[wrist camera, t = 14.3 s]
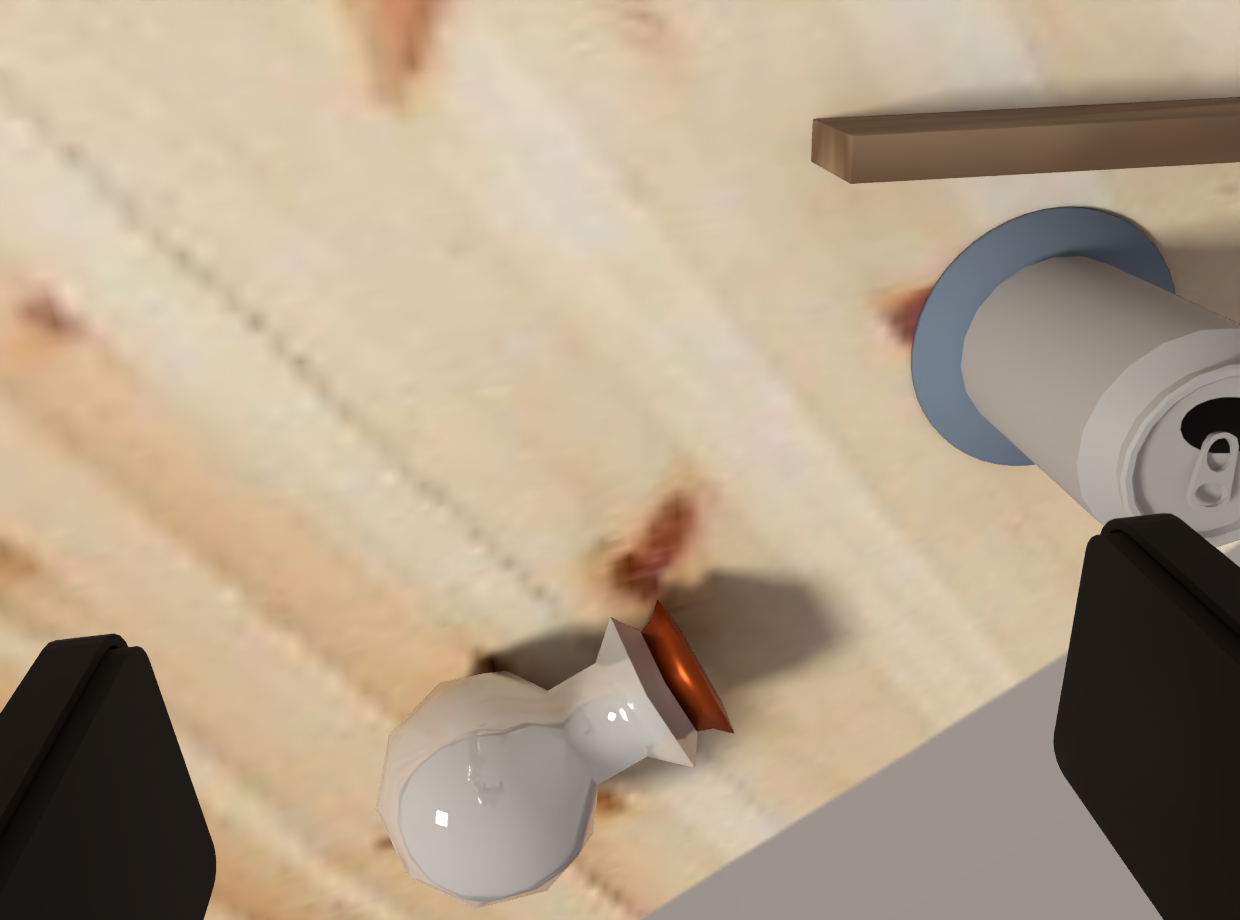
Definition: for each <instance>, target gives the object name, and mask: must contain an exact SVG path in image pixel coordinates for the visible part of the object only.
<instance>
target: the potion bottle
mask: <svg viewBox="0 0 1240 920" xmlns="http://www.w3.org/2000/svg"><path fill="white" fill-rule="evenodd" d="M712 728H714V729H718V730H722V731H726V732H730V733H734V731H733V729H732V726H731V724H730V721H729V719H728V716H727V714H726V711H725V709H724V706H723V704H722V701H721V700H720V698H719V696H718V694H717V693H716V691H715V689H714V687H713V686H712V684H711V682H710V680H709V679H708V677H707V675H706V673H705V672H704V670H703V668H702V666H701V665H700V663H699V661H698V659H697V658H696V656H695V654H694V653H693V651H692V649H691V647H690V646H689V644H688V642H687V640H686V639H685V637H684V635H683V633H682V632H681V630H680V628H679V626H678V625H677V623H676V622H675V621H674V620H673V618H672V617H671V616H670V615H669V613H668V612H667V611H666V609H665V608H664V607H663V606H662V604H661V603H660V602H659V601H658V600H657V604H656V607H655V610H654V614H653V617H652V620H651V621H650V622H649V624H648V625H647V626H646V627H645V628H644V629H643V630H642V632H640V631H638V630H636V629H634V628H632V627H630V626H628V625H626V624H624V623H622V622H620V621H618V620H616V619H614V618H612V617H611V618H610V621H609V624H608V627H607V630H606V633H605V636H604V639H603V642H602V645H601V648H600V651H599V654H598V657H597V660H596V663H594V664H593V665H591V666H589V667H588V668H586V669H584V670H583V671H581V672H579V673H577V674H576V675H574V676H572V677H571V678H569V679H567V680H565V681H564V682H562V683H560V684H559V685H557V686H555V687H553V688H552V689H550V690H548V691H547V690H545V689H543V688H541V687H539V686H537V685H535V684H533V683H531V682H529V681H527V680H525V679H523V678H521V677H519V676H517V675H515V674H513V673H511V672H509V671H502V672H493V673H483V674H478V675H474V676H469V677H464V678H459V679H455V680H450V681H445V682H440V683H439V684H438V685H437V686H436V687H435V688H434V689H433V690H432V691H431V692H430V693H429V694H428V695H427V696H426V697H425V698H424V699H423V700H422V701H421V702H420V703H419V704H418V705H417V706H416V707H415V708H414V710H413V711H412V712H411V713H410V714H409V715H408V716H407V717H406V718H405V719H404V720H403V721H402V722H401V723H400V724H399V725H398V726H397V727H396V728H395V729H394V730H393V731H392V732H391V733H390V734H389V738H388V743H387V749H386V755H385V760H384V766H383V772H382V777H381V783H380V788H379V794H378V800H377V805H376V810H377V812H378V814H379V816H380V819H381V821H382V823H383V825H384V827H385V829H386V831H387V833H388V835H389V837H390V839H391V841H392V843H393V845H394V848H395V850H396V852H397V854H398V856H399V858H400V860H401V862H402V864H403V866H404V868H405V870H406V872H407V874H408V877H409V878H411V879H414V880H416V881H418V882H420V883H422V884H424V885H426V886H428V887H430V888H433V889H435V890H437V891H439V892H441V893H443V894H445V895H447V896H449V897H451V898H454V899H456V900H458V901H460V902H462V903H464V904H466V905H468V906H470V907H473V908H475V909H477V908H481V907H485V906H489V905H493V904H497V903H501V902H505V901H509V900H513V899H517V898H521V897H524V896H528V895H532V894H536V893H540V892H544V891H547V890H548V889H549V888H550V887H551V885H552V884H553V883H554V882H555V881H556V880H557V879H558V878H559V876H560V875H561V874H562V873H563V872H564V871H565V870H566V869H567V867H568V866H569V865H570V864H571V863H572V862H573V861H574V860H575V858H576V857H577V856H578V855H579V853H580V852H581V851H582V849H583V848H584V846H585V845H586V843H587V842H588V840H589V839H590V837H591V836H592V835H593V831H594V821H595V812H596V802H597V793H598V785H599V784H601V783H602V782H604V781H606V780H608V779H609V778H611V777H613V776H615V775H616V774H618V773H620V772H621V771H623V770H625V769H627V768H628V767H630V766H632V765H633V764H635V763H637V762H639V761H640V760H642V759H644V758H645V757H651V758H655V759H660V760H664V761H668V762H672V763H677V764H681V765H685V766H689V767H694V768H695V761H696V747H697V734H698V732H697V731H701V730H706V729H712Z"/></svg>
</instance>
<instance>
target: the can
mask: <svg viewBox="0 0 1240 920" xmlns="http://www.w3.org/2000/svg"><path fill="white" fill-rule="evenodd" d="M961 370H962V375H963V380H964V384H965V389H966V393H967V394H968V396H969V397H970V399H971V400H972V402H973V403H974V405H975V407H976V408H977V410H978V411H979V413H980V414H981V415H983V416H984V417H985V418H986V419H987V420H988V421H989V422H990V423H991V424H992V425H993V426H995V427H996V428H997V429H998V430H999V431H1000V432H1001V433H1002V434H1003V435H1004V436H1005V437H1007V438H1008V439H1009V440H1010V441H1011V442H1012V443H1013V444H1014V445H1015V446H1016V447H1017V448H1019V449H1020V450H1021V451H1022V452H1023V453H1024V454H1025V455H1026V456H1027V457H1028V458H1029V459H1031V460H1032V461H1033V462H1034V463H1035V464H1036V465H1037V466H1038V467H1039V468H1040V469H1041V470H1042V471H1044V472H1045V473H1046V474H1047V475H1048V476H1049V477H1050V478H1051V479H1052V480H1053V481H1054V482H1056V483H1057V484H1058V485H1059V486H1060V487H1061V488H1062V489H1063V490H1064V491H1065V492H1066V493H1068V494H1069V495H1070V496H1071V497H1072V498H1073V499H1074V500H1075V501H1076V502H1077V503H1078V504H1080V505H1081V506H1082V507H1083V508H1084V509H1085V510H1086V511H1087V512H1088V513H1089V514H1090V515H1092V516H1093V517H1094V518H1095V519H1096V520H1097V521H1098V522H1100V523H1101V524H1103V525H1104V526H1105V524H1106V523H1107V522H1108V521H1110V520H1112V519H1115V518H1124V517H1133V516H1141V515H1150V514H1159V513H1171V514H1173V515H1175V516H1177V517H1179V518H1180V519H1181V520H1183V521H1184V522H1185V523H1186V524H1187V525H1189V526H1190V527H1191V528H1192V529H1194V530H1195V531H1196V532H1197V533H1198V534H1200V535H1201V536H1202V537H1203V538H1205V539H1206V540H1207V541H1208V542H1209V543H1211V544H1212V545H1213V546H1214V547H1219V546H1222V545H1225V544H1228V543H1231V542H1234V541H1237V540H1240V324H1238V323H1236V322H1234V321H1232V320H1230V319H1227V318H1225V317H1223V316H1221V315H1219V314H1216V313H1214V312H1212V311H1210V310H1208V309H1206V308H1203V307H1201V306H1199V305H1197V304H1195V303H1192V302H1190V301H1188V300H1186V299H1184V298H1181V297H1179V296H1177V295H1175V294H1173V293H1170V292H1168V291H1166V290H1164V289H1162V288H1160V287H1157V286H1155V285H1153V284H1151V283H1149V282H1146V281H1144V280H1142V279H1140V278H1138V277H1135V276H1133V275H1131V274H1129V273H1127V272H1124V271H1122V270H1120V269H1118V268H1116V267H1114V266H1111V265H1109V264H1106V263H1103V262H1100V261H1097V260H1093V259H1090V258H1087V257H1084V256H1073V257H1053V258H1050V259H1047V260H1044V261H1041V262H1038V263H1036V264H1033V265H1030V266H1027V267H1024V268H1023V269H1021V270H1020V271H1018V272H1017V273H1015V274H1014V275H1013V276H1011V277H1010V278H1008V279H1007V280H1005V281H1004V282H1003V283H1001V284H1000V285H998V286H997V287H996V288H995V290H994V291H993V292H992V293H991V294H990V296H989V297H988V298H987V299H986V300H985V302H984V303H983V304H982V305H981V306H980V308H979V309H978V310H977V312H976V314H975V316H974V318H973V320H972V323H971V325H970V327H969V329H968V331H967V334H966V336H965V338H964V345H963V353H962V361H961Z"/></svg>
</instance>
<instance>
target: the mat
mask: <svg viewBox="0 0 1240 920" xmlns="http://www.w3.org/2000/svg"><path fill="white" fill-rule="evenodd" d="M1073 256H1084V257H1087V258H1090V259H1093V260H1097V261H1100V262H1103V263H1106V264H1109V265H1111V266H1114V267H1116V268H1118V269H1120V270H1122V271H1124V272H1127V273H1129V274H1131V275H1133V276H1135V277H1138V278H1140V279H1142V280H1144V281H1146V282H1149V283H1151V284H1153V285H1155V286H1157V287H1160V288H1162V289H1164V290H1166V291H1168V292H1170V293H1173V294H1175V289H1174V284H1173V281H1172V278H1171V274H1170V271H1169V269H1168V267H1167V265H1166V263H1165V260H1164V258H1163V257H1162V255H1161V254H1160V252H1159V251H1158V249H1157V248H1156V247H1155V245H1154V244H1153V243H1152V242H1151V241H1150V240H1149V239H1148V238H1147V237H1146V236H1145V235H1144V234H1143V233H1142V232H1141V231H1139V230H1138V229H1137V228H1135V227H1134V226H1133V225H1131V224H1130V223H1128V222H1126V221H1124V220H1122V219H1120V218H1118V217H1116V216H1113V215H1110V214H1107V213H1104V212H1100V211H1097V210H1092V209H1086V208H1079V207H1059V208H1051V209H1043V210H1039V211H1035V212H1032V213H1028V214H1024V215H1022V216H1019V217H1017V218H1014V219H1012V220H1009V221H1007V222H1005V223H1003V224H1001V225H999V226H997V227H996V228H994V229H992V230H990V231H989V232H987V233H986V234H984V235H983V236H981V237H980V238H978V239H977V240H976V241H974V242H973V243H972V244H971V245H970V246H968V247H967V248H966V249H965V250H964V251H963V252H962V253H960V254H959V255H958V257H957V258H956V259H955V260H954V261H953V262H952V263H951V264H950V265H949V266H948V267H947V269H946V270H945V271H944V273H943V274H942V275H941V277H940V278H939V280H938V281H937V282H936V284H935V285H934V287H933V289H932V291H931V292H930V294H929V296H928V298H927V299H926V302H925V304H924V306H923V309H922V311H921V313H920V316H919V319H918V322H917V326H916V329H915V333H914V338H913V344H912V352H911V370H912V378H913V385H914V388H915V392H916V396H917V399H918V401H919V403H920V406H921V408H922V410H923V412H924V414H925V415H926V417H927V418H928V420H929V422H930V423H931V424H932V426H933V427H934V428H935V429H936V430H937V431H938V432H939V433H940V435H941V436H942V437H943V438H944V439H946V440H947V441H948V442H949V443H950V444H952V445H953V446H954V447H956V448H957V449H959V450H961V451H962V452H964V453H966V454H967V455H970V456H972V457H975V458H977V459H980V460H982V461H986V462H990V463H994V464H1001V465H1010V466H1023V465H1034V464H1035V463H1034V462H1033V461H1032V460H1031V459H1029V458H1028V457H1027V456H1026V455H1025V454H1024V453H1023V452H1022V451H1021V450H1020V449H1019V448H1017V447H1016V446H1015V445H1014V444H1013V443H1012V442H1011V441H1010V440H1009V439H1008V438H1007V437H1005V436H1004V435H1003V434H1002V433H1001V432H1000V431H999V430H998V429H997V428H996V427H995V426H993V425H992V424H991V423H990V422H989V421H988V420H987V419H986V418H985V417H984V416H983V415H981V414H980V413H979V411H978V410H977V408H976V407H975V405H974V403H973V402H972V400H971V399H970V397H969V396H968V394H967V393H966V389H965V384H964V380H963V375H962V370H961V361H962V353H963V345H964V338H965V336H966V334H967V331H968V329H969V327H970V325H971V323H972V320H973V318H974V316H975V314H976V312H977V310H978V309H979V308H980V306H981V305H982V304H983V303H984V302H985V300H986V299H987V298H988V297H989V296H990V294H991V293H992V292H993V291H994V290H995V288H996V287H997V286H998V285H1000V284H1001V283H1003V282H1004V281H1005V280H1007V279H1008V278H1010V277H1011V276H1013V275H1014V274H1015V273H1017V272H1018V271H1020V270H1021V269H1023V268H1024V267H1027V266H1030V265H1033V264H1036V263H1038V262H1041V261H1044V260H1047V259H1050V258H1053V257H1073Z"/></svg>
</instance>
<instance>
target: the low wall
mask: <svg viewBox="0 0 1240 920" xmlns="http://www.w3.org/2000/svg"><path fill="white" fill-rule="evenodd" d="M811 161H812V162H813V163H815V164H817V165H819V166H820V167H822V168H824V169H826V170H827V171H829V172H831V173H833V174H834V175H836V176H838V177H840V178H841V179H843V180H845V181H847V182H849V183H850V184H855V183H873V182H891V181H909V180H927V179H944V178H962V177H980V176H998V175H1016V174H1034V173H1052V172H1070V171H1088V170H1106V169H1124V168H1142V167H1160V166H1178V165H1196V164H1214V163H1232V162H1240V97H1236V98H1216V99H1197V100H1178V101H1158V102H1139V103H1119V104H1100V105H1081V106H1061V107H1042V108H1022V109H1003V110H984V111H964V112H945V113H925V114H906V115H887V116H867V117H848V118H828V119H813V132H812V157H811Z"/></svg>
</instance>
